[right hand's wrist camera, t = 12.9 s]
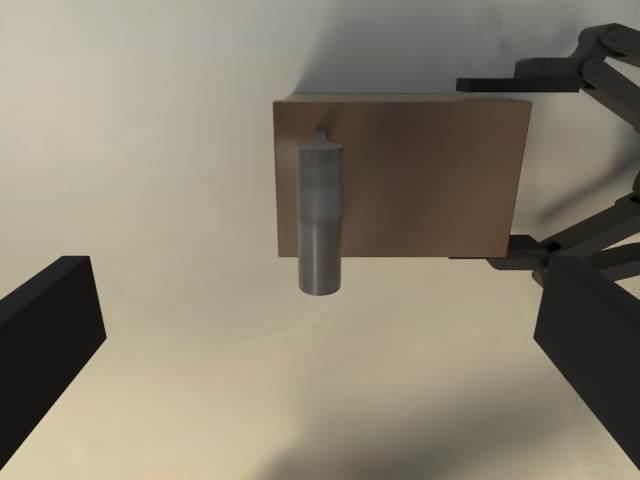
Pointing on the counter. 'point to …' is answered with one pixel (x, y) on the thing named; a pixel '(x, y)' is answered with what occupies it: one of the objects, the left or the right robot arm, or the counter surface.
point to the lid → (394, 180)
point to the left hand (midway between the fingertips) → (452, 171)
